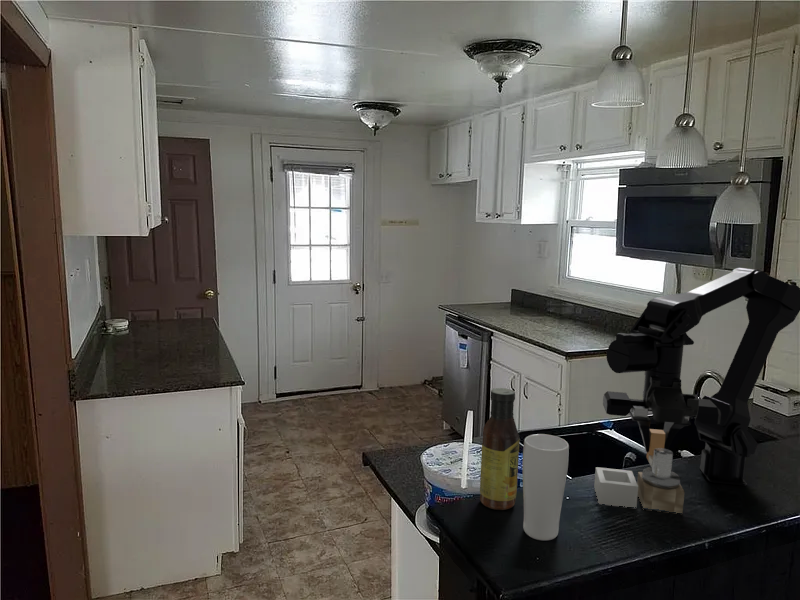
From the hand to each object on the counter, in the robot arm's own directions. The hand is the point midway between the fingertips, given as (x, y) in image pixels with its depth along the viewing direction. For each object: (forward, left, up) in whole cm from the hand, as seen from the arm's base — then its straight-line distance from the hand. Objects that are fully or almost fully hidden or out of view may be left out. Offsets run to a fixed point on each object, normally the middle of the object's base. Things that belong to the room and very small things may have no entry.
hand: (655, 452), depth 105 cm
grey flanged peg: (0, +6, -7) cm, 9 cm away
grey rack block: (+7, +6, -7) cm, 12 cm away
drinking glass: (+20, +21, -7) cm, 30 cm away
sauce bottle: (+27, +13, -7) cm, 31 cm away
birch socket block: (0, +6, -7) cm, 9 cm away
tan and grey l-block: (0, +1, -1) cm, 2 cm away
